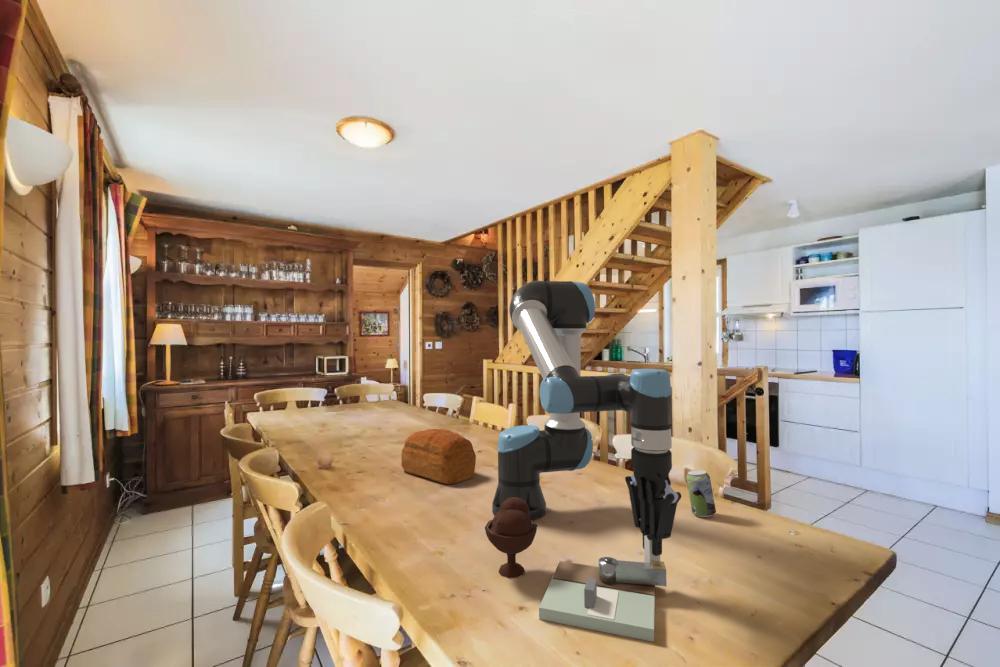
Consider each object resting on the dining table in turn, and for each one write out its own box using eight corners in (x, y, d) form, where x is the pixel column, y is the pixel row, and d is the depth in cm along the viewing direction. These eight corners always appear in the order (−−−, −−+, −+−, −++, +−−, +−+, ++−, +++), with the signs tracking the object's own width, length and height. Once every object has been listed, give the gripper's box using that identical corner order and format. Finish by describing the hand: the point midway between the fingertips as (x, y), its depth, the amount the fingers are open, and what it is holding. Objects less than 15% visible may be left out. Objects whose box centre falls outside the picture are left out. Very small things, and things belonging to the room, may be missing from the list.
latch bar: (599, 581, 88) (598, 563, 88) (598, 572, 91) (598, 554, 91) (666, 588, 86) (666, 568, 86) (663, 578, 89) (663, 559, 89)
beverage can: (718, 520, 122) (718, 475, 122) (689, 518, 124) (688, 473, 124) (712, 511, 129) (712, 468, 129) (684, 509, 130) (684, 467, 130)
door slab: (539, 618, 80) (538, 589, 80) (551, 589, 90) (551, 562, 90) (653, 641, 74) (653, 609, 74) (654, 607, 84) (654, 578, 84)
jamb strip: (552, 587, 90) (552, 575, 90) (559, 570, 97) (559, 559, 97) (654, 605, 84) (654, 593, 84) (655, 585, 91) (655, 574, 91)
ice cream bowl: (483, 560, 102) (483, 492, 102) (533, 557, 103) (533, 490, 103) (486, 586, 91) (485, 510, 91) (542, 583, 92) (541, 508, 92)
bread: (446, 487, 151) (445, 439, 151) (397, 472, 169) (396, 428, 169) (480, 476, 163) (480, 431, 163) (431, 462, 181) (431, 422, 181)
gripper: (614, 443, 94) (615, 558, 95) (661, 459, 83) (662, 590, 83) (642, 439, 98) (643, 550, 98) (691, 453, 86) (693, 580, 86)
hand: (652, 568), depth 90 cm, fingers closed
